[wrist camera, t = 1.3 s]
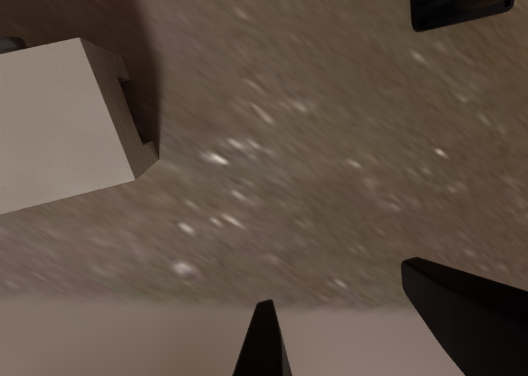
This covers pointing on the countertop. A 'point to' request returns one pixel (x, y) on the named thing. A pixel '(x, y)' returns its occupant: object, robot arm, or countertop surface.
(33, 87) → the grey cube with knob
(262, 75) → the countertop surface
